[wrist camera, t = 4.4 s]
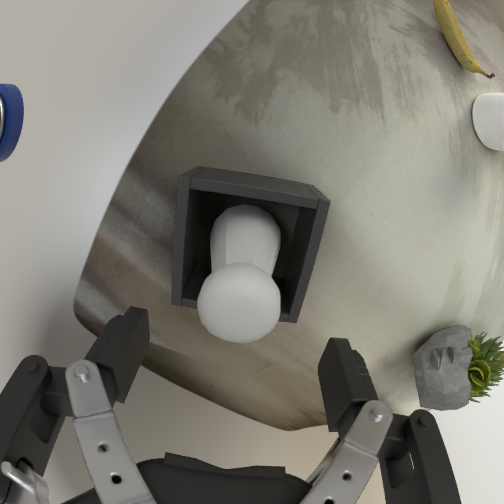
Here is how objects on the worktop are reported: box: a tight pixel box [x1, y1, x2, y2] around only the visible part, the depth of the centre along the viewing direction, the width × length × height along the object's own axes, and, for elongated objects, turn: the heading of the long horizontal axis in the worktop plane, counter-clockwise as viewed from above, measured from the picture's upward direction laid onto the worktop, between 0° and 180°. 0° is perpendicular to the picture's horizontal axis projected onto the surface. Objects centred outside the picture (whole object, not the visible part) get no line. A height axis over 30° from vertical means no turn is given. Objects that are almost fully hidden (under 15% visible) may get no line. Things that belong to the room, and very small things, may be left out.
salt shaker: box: [197, 204, 281, 343], centre depth 19 cm, size 6×6×13 cm
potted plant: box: [413, 325, 504, 411], centre depth 26 cm, size 12×13×15 cm
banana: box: [433, 0, 495, 79], centre depth 14 cm, size 10×2×4 cm, turn 37°
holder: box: [172, 166, 330, 323], centre depth 22 cm, size 10×10×6 cm
